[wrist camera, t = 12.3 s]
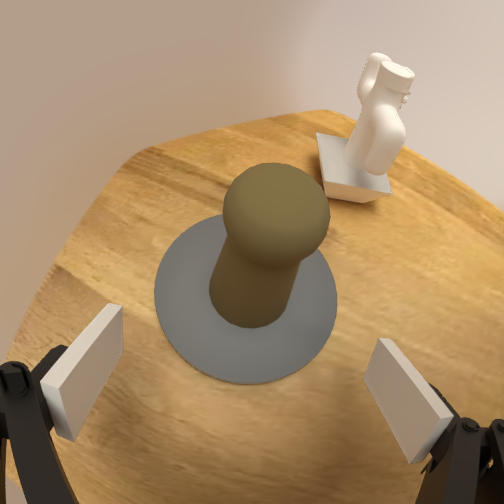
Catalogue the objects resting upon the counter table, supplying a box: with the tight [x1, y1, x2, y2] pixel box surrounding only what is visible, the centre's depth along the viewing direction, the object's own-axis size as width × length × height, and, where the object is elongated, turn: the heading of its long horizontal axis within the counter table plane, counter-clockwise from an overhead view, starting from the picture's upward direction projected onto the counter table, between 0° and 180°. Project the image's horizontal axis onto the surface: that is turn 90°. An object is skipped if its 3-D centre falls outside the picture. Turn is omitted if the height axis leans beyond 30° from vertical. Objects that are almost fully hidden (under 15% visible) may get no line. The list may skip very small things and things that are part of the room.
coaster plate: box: [154, 214, 337, 385], centre depth 21 cm, size 14×14×6 cm
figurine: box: [316, 53, 415, 203], centre depth 25 cm, size 7×9×15 cm
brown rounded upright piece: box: [209, 163, 330, 329], centre depth 18 cm, size 6×6×11 cm
